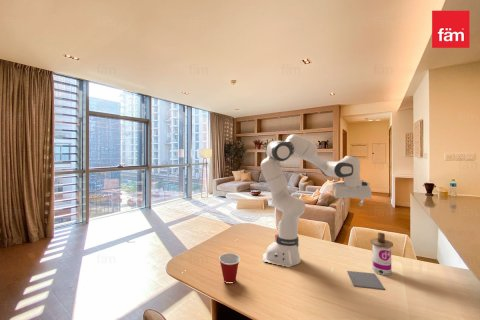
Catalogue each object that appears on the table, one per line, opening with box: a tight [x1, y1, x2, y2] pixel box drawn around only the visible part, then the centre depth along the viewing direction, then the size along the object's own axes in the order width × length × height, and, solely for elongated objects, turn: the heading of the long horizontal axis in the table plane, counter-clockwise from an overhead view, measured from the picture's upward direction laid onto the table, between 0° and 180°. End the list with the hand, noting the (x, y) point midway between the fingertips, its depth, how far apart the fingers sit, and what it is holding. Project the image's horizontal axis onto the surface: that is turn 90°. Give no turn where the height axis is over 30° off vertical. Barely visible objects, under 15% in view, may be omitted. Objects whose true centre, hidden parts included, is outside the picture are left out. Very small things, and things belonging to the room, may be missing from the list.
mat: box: [346, 270, 386, 291], centre depth 106 cm, size 13×13×1 cm
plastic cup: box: [218, 252, 241, 283], centre depth 108 cm, size 11×11×12 cm
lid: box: [369, 232, 394, 248], centre depth 113 cm, size 10×10×5 cm
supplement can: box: [371, 244, 392, 276], centre depth 113 cm, size 8×8×15 cm
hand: (352, 205), depth 131 cm, fingers open, 8 cm apart
